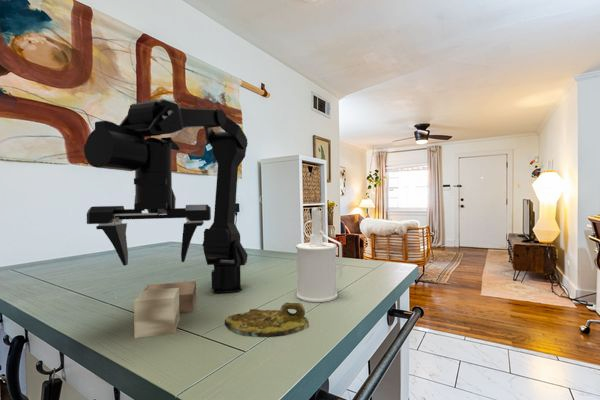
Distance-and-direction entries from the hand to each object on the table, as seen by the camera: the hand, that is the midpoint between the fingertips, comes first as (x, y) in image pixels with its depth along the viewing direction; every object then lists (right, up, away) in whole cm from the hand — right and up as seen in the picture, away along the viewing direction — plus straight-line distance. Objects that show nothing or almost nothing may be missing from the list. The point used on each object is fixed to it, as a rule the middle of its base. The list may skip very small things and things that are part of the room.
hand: (154, 263), depth 52 cm
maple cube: (+1, -11, 0) cm, 11 cm away
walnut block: (-2, -12, +10) cm, 16 cm away
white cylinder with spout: (+30, -11, +16) cm, 35 cm away
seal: (+19, -11, 0) cm, 22 cm away
